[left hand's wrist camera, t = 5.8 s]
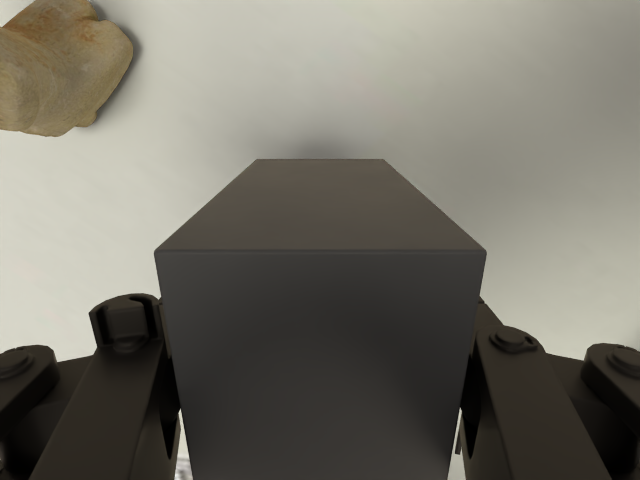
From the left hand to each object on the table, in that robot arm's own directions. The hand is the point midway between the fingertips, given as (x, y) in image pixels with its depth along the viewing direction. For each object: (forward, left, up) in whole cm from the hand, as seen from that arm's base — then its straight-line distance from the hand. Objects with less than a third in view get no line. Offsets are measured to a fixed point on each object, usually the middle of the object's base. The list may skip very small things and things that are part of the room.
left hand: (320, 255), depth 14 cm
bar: (0, +8, -1) cm, 8 cm away
